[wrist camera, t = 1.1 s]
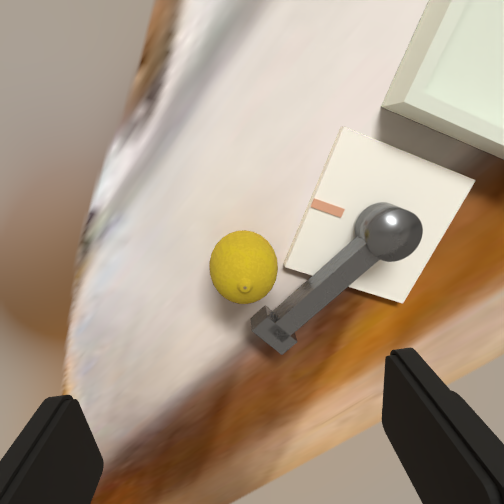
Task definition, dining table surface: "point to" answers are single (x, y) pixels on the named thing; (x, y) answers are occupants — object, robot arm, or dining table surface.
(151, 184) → the dining table surface
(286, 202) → the dining table surface
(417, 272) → the crank board
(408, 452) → the robot arm
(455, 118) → the tray
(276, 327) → the crank
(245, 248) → the lemon
